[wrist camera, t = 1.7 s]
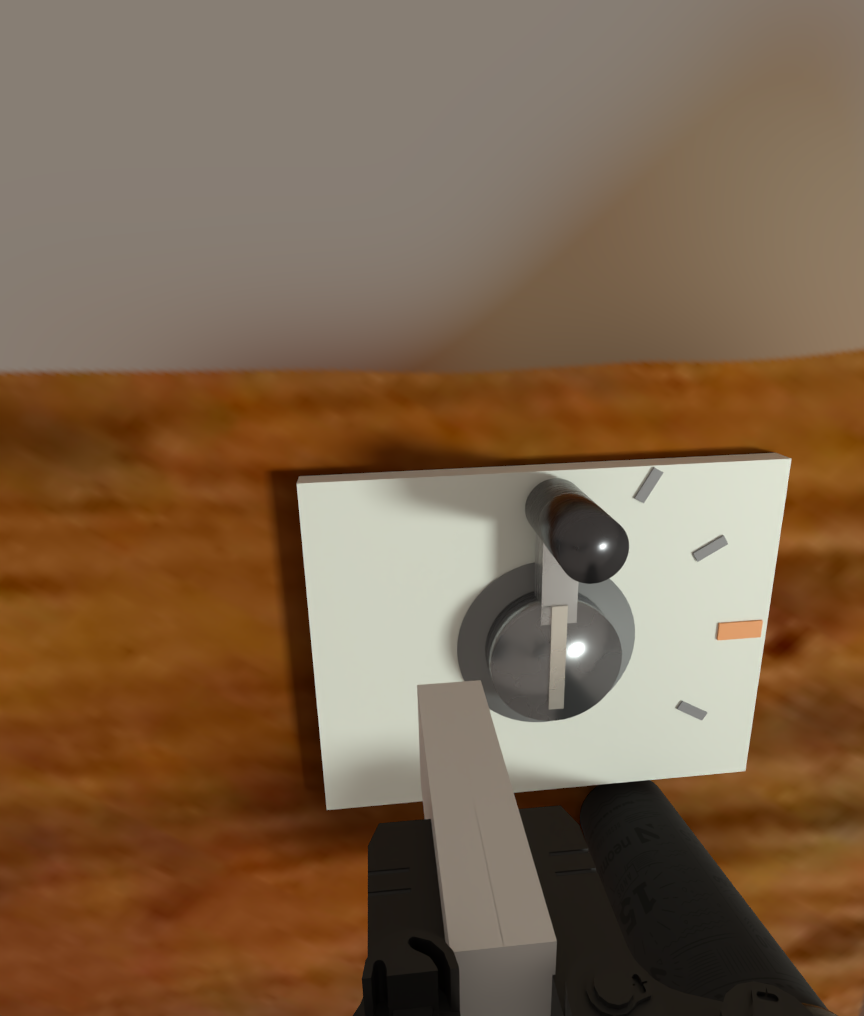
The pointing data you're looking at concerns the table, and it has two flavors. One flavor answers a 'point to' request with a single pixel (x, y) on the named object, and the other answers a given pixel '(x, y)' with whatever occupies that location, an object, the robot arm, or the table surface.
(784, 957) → the drinking cup
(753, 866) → the table surface
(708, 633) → the board
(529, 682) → the crank
